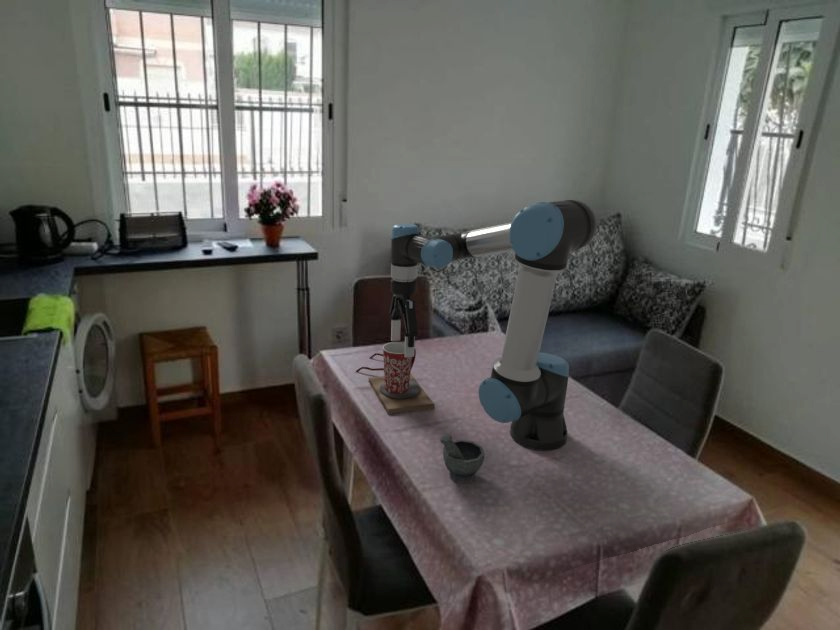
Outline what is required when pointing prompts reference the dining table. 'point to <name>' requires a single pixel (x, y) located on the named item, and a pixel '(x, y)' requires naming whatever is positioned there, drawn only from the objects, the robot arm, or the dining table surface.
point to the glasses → (371, 368)
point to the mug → (397, 367)
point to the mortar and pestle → (462, 458)
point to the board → (401, 397)
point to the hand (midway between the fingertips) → (402, 348)
